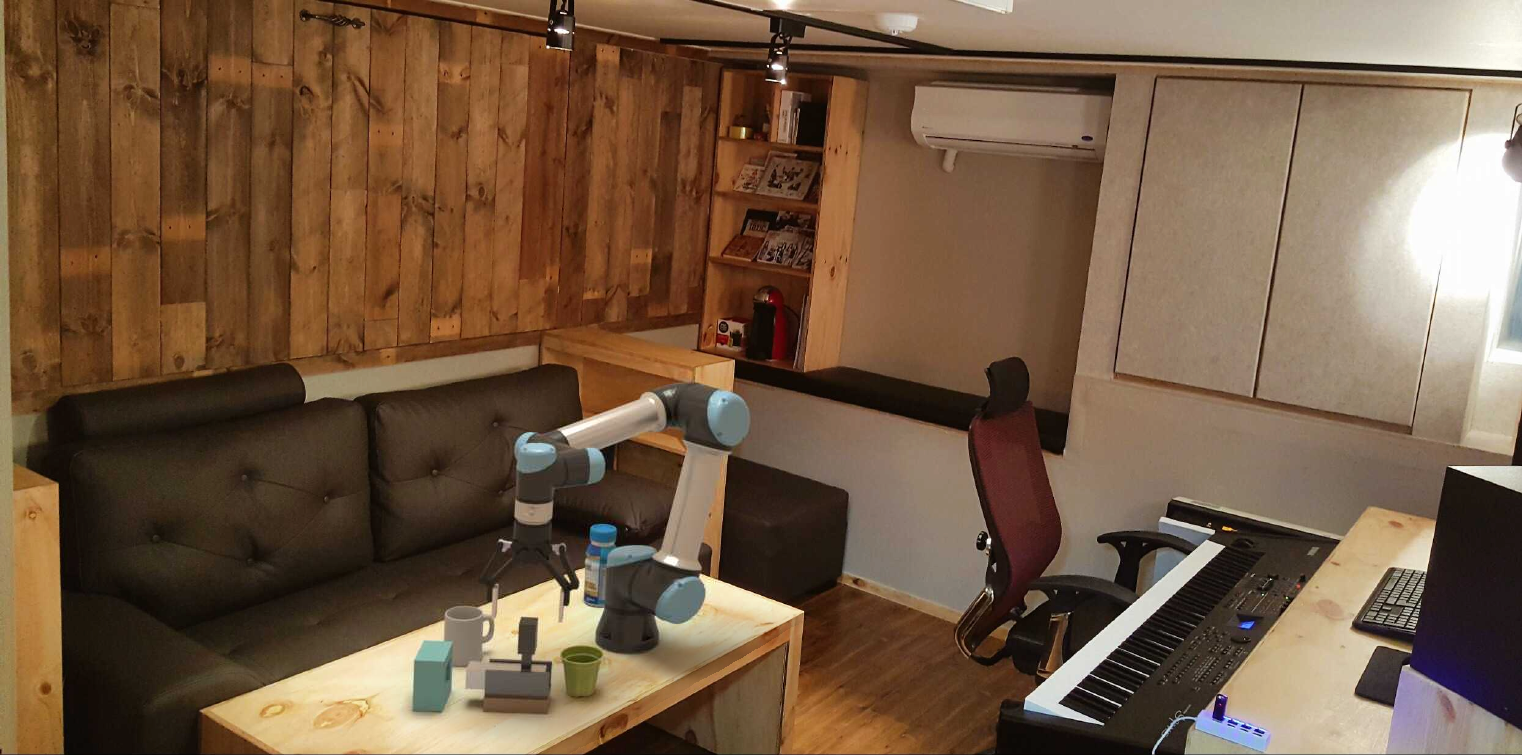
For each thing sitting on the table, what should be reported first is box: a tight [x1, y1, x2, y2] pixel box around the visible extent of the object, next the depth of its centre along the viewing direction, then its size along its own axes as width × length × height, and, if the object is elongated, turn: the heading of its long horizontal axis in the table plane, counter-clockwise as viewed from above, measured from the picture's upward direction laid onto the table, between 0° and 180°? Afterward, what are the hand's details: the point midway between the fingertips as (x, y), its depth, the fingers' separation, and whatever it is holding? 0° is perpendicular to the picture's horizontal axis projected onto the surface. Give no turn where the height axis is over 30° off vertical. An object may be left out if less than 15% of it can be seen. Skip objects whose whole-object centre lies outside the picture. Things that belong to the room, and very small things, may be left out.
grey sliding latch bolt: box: [465, 616, 547, 691], centre depth 249 cm, size 16×4×15 cm, turn 94°
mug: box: [443, 605, 495, 667], centre depth 271 cm, size 12×8×11 cm
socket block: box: [412, 639, 453, 713], centre depth 249 cm, size 6×10×11 cm, turn 4°
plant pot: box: [559, 644, 605, 698], centre depth 258 cm, size 9×9×9 cm
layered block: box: [482, 657, 553, 715], centre depth 251 cm, size 13×8×8 cm, turn 94°
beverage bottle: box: [583, 523, 618, 608], centre depth 308 cm, size 8×8×20 cm
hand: (527, 618), depth 248 cm, fingers open, 13 cm apart
